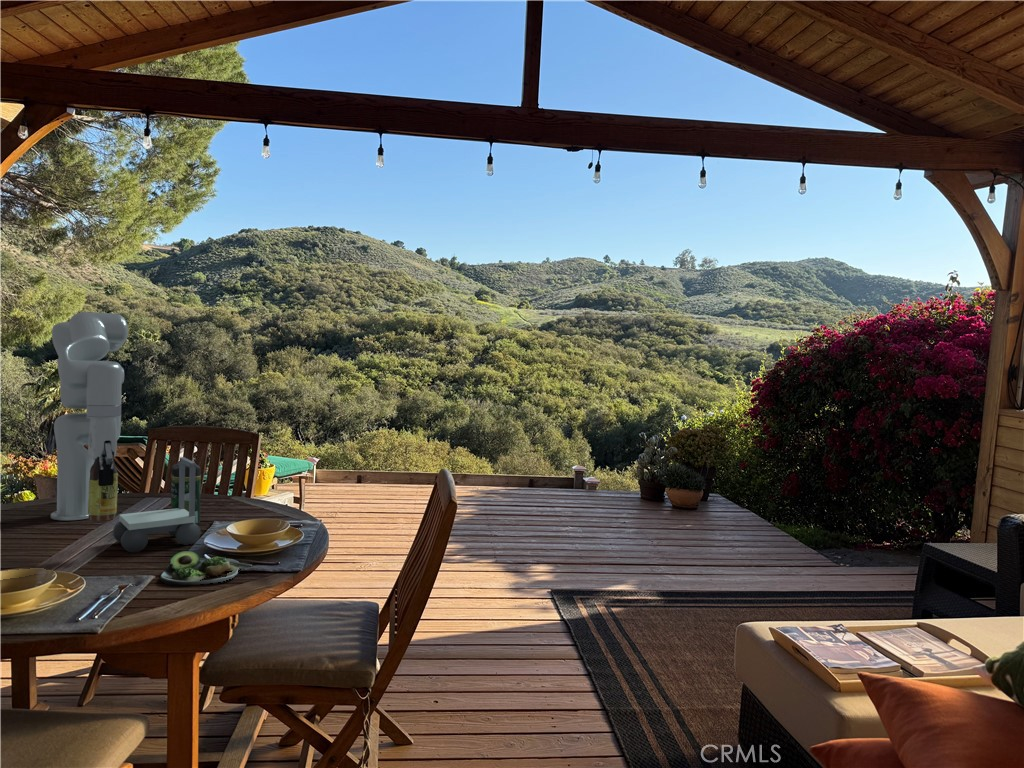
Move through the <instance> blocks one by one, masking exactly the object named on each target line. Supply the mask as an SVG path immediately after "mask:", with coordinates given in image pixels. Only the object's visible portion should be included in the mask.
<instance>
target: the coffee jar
mask: <svg viewBox="0 0 1024 768" xmlns="http://www.w3.org/2000/svg"><path fill="white" fill-rule="evenodd" d="M201 469H202V468H201V467H200V466H199V465H198V464H196V474H195V522H194V523H195V524H196V525H198V524H200V523H201V485H202V484H201V483H202V482H201V480H202V474H201V473H202V472H201V471H202V470H201ZM189 475H190V467H189V466H187V465H185V500H184V509H185V510H187V511H188V512H189ZM170 477H171V481H170V482H171V484H170V487H171V488H170V505H171V506H170V509H176V508H179V461H178V462H177V463H174V464H173V465H172V466H171V476H170Z"/></svg>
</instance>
